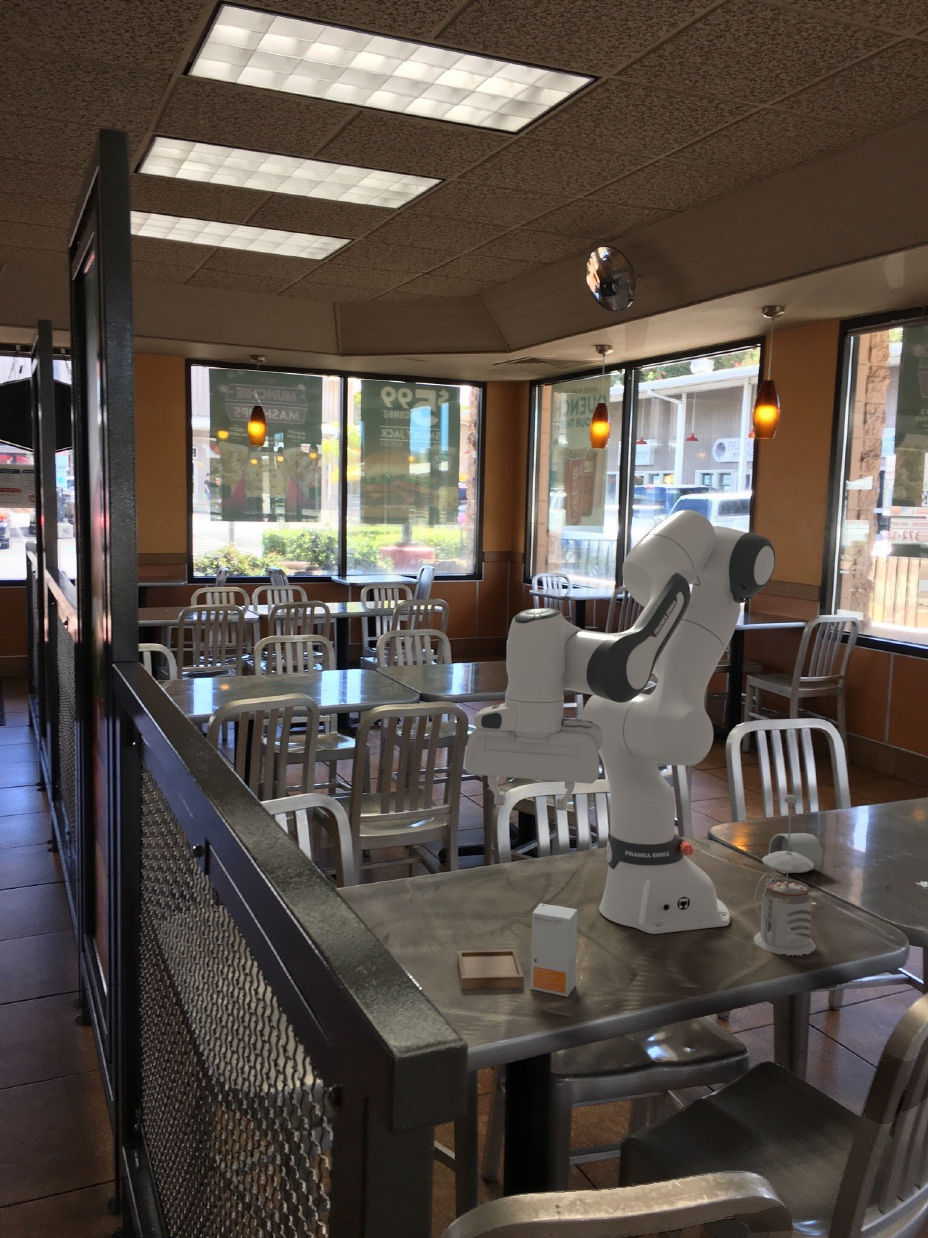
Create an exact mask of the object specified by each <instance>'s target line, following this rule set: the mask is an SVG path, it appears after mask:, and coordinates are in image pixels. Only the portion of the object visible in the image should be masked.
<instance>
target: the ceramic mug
mask: <svg viewBox="0 0 928 1238" xmlns="http://www.w3.org/2000/svg"><path fill="white" fill-rule="evenodd" d="M788 834H789V833H777V834H775V835H774V836H773V837H772V838H771V840H770V842H769V847H768V849H769V850H768V854H767V855H769V854H771V853H774V852H778V851H788ZM789 851H790V852H795V853H798V854H800V855H802V856H804V857H806V858H808V859H809V860H811V861H812V862H813V864H814V867H813V868H812V869H811V870H810V871H812V870H815V869H817V868H819V867H820V866H821V865H822V863H823V860H824V848H823V844H822V843H821V841H820V839H819V838H818V837H817V836H816V835H814V834H812V833H811V834H810V833H805V832H801V833H800V832H797V833H791V832H790V842H789ZM778 872H779V873H780V874H784V875H785V874H786V875H787V872H780V871H778ZM788 874H790V873H789V872H788Z"/></svg>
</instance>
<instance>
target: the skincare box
mask: <svg viewBox="0 0 928 1238" xmlns="http://www.w3.org/2000/svg"><path fill="white" fill-rule="evenodd" d="M578 914H579V910H578V909H577V908H572V907H566V906H563V905H562V906H561V905H555V904H554V905H553V904H552V905H551V904H546V903H539V904H538V905H537V907H536V908H535V909H534V910H533V912H532V913H531V932H530V933H531V935H530V937H531V942H530V972H529V973H530V974H529V975H530V976H529V981H530V982H529V990H532V991H533V990H534V991H538V992H543V993H548V994H554V995H558V996H562V997H565V996H566V998H567V997H569V996H570V994H571V993H572V991H573V990H574V988H575V987H576V977H577V975H576V973H577V951H578V950H577V945H578V943H577V942H578V940H577V939H578V938H577V937H578V920H579V919H578ZM570 992H571V993H570ZM568 995H569V996H568Z"/></svg>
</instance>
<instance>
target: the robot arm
mask: <svg viewBox="0 0 928 1238" xmlns="http://www.w3.org/2000/svg"><path fill="white" fill-rule="evenodd" d="M775 551H776V550H775V549H774V546H773V544H772V542H771V540H769V539H768V538H767V537H764V536H762V535H761V534H758V533H755V532H752V531H748V532H746V531H742V530H739V529H735V528H732V527H726V526H720V525H716V526H713V524H712V523H711V521H710V520H709V518H707V517H706V516H705V515H703V513H700V512H698V511H695V510H691V509H681V510H678V511H676V512H673V513H672V514H670V515H669V516H667V517H665V518H664V519H662V520H661V521H660V522H659V523H657V524H655V525H654V526H653V527H652V528H651V529H650V530H649V531H648V532H647V533H646V534H645V535H644V536H643V537H642V538H640V540H639V541H638V542H637V543H636V544H635V545H634V546H633V547H632V548H631V549H630V551H629V552H628V553H627V555H626V557H625V559H624V560H623V563H622V571H621V573H622V575H621V576H622V580H623V584H624V586H625V588H626V590H627V592H628V593H629V595H630V596H631V597H632V598H633V599H634V601H636V602H637V604H639V605H640V606H641V607H643V610H642V611H641V613H640V614H639V615H638V617H637V619H636V620H635V622H634V623H633V624H632V626H631V627H630V628H629V629H628V630H625V631H622V632H613V633H609V632H603V631H602V632H601V631H594V630H593V631H592V630H588V629H581V627H579V626H576V625H574V624H572V623H571V622H569V621H568V620H566V618H565V617H564V616H563V613H562V611H560V610H558V609H555V608H547V607H543V608H542V607H540V608H530V609H525V610H523V611H520V612H518V614H516V615H515V616H514V617H513V618H512V620H511V623H510V626H509V630H508V636H507V642H506V655H505V656H506V657H505V658H506V659H505V660H506V662H505V667H506V673H507V680H508V681H507V687H506V690H505V694H504V702H503V703H500V704H495V705H494V704H493V705H491V706H486V707H484V708H482V709H480V710H479V711H478V712H477V713H476V714H475V716H474V719H473V724H474V727H475V728H474V729H473V730H472V732H471V733H470V734H469V736H468V739H467V745H466V750H465V758H464V768H465V770H466V771H467V773H468V774H469V775H477V776H487V784H488V785H489V788H490V790H491V791H492V793H493V795H494V797H493V805H494V806H505V804H506V795H507V794H506V791H503V790H502V791H501V789H500V787H499V786H498V781H499V779H500V778H501V777H502V778H513V779H528V780H537V781H538V780H539V781H551V782H552V781H553V782H563V783H564V789H566V791H565V793H563V796H561V795H558V796H557V797H556V801H555V803H556V806H555V810H556V811H567V808H568V799H569V797H570V796H571V795H572V794H573V792H574V789H575V787H576V784H577V783H578V784H594V783H596V781H597V780H598V779H599V776H600V759H601V761H602V764H603V766H604V770H605V774H606V777H607V781H608V784H609V791H610V792H609V793H610V795H609V796H610V830H609V831H608V834H607V841H606V861H607V862H606V863H607V866H608V867H607V874H606V882H605V886H604V892H603V895H602V899H601V902H600V904H599V912H600V913H601V915H602V916H603V917H605V918H606V919H607V920H610V921H612V922H614V923H616V924H618V925H622V926H626V927H631V928H635V929H638V930H640V931H642V932H644V933H647V934H650V935H657V934H665V933H666V934H667V933H673V932H676V933H677V932H683V931H692V930H700V929H701V930H702V929H708V928H709V929H710V928H718V927H726V926H728V925H730V922H731V915H730V911H729V909H728V907H727V906H726V905H725V904H724V902H722V900H720V899H719V898H717V891H716V887H715V885H714V883H713V880H712V879H711V878H710V876H709V875H708V874H707V873H706V871H704V870H703V869H701V868H700V867H699V866H698V865H696V864H695V863H694V862H693V861H692V860H690V859H689V858H688V857H690V856H692V854H694V851H695V849H694V847H693V845H692V844H691V843H690V842H688V841H685V839H684V838H683V837H681V836H679V835H678V834H677V833H675V825H676V824H675V819H676V816H675V815H676V796H675V791H674V789H673V788H672V786H671V785H670V784H669V783H668V781H667V780H666V779H665V778H664V776H663V775H662V773H661V771H660V770H659V767H658V765H657V763H659V764H661V765H662V764H663V765H668V766H694V765H697V764H699V763H700V762H702V761H703V760H704V759H705V757H707V755H708V754H709V752H710V750H711V748H712V745H713V741H714V727H713V724H712V721H711V718H710V716H709V715H708V713H707V711H706V709H705V694H706V691H707V687H708V684H709V682H710V680H711V678H712V676H713V674H714V672H715V670H716V668H717V666H718V664H719V663H720V662H721V659H722V657H723V656H724V653H725V651H727V648H728V646H729V645H730V642H731V639H732V637H733V635H734V632H735V630H736V628H737V625H738V621H739V618H740V614H741V604H743V603H747V602H748V601H750V600H751V599H752V598H753V597H754V596H755V595H757V594H758V593H759V592H761V591H762V590H763V589H764V588H766V586H767V584H768V583H769V582H770V580H771V578H772V576H773V574H774V571H775V566H776V552H775ZM690 585H692V586H691V587H692V588H690ZM652 674H653V675H654V677H655V678H656V679H657V683H656V686H655V688H654V690H653V691H652V692H651V693H650V694H645V693H642V692H643V691H644V690H645V688H646V687H647V686H648V683H649V681H650V679H651V676H652ZM564 690H569V691H573V692H575V693H576V692H577V693H581V694H586V695H591V696H590V697H589V699H588V700H587V701H586V704H585V706H584V708H583V711H582V717H581V719H582V720H578V719H571V718H564V707H565V706H564V704H565V702H564V701H565V700H564V699H565V695H564ZM599 756H600V757H599Z"/></svg>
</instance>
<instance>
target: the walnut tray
mask: <svg viewBox="0 0 928 1238" xmlns="http://www.w3.org/2000/svg"><path fill="white" fill-rule="evenodd" d="M457 968H458V973H459V979H460V980H459V981H460V986H461V987H460V988H461V990H477V989H481V990H482V989H483V990H484V989H511V988H512V989H513V988H524V981H525V979H524V977H525V976H524V973H523V970H522V966H521V963H520V959H519V956H518V952H517V949H488V950H487V949H485V950H457Z"/></svg>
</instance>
